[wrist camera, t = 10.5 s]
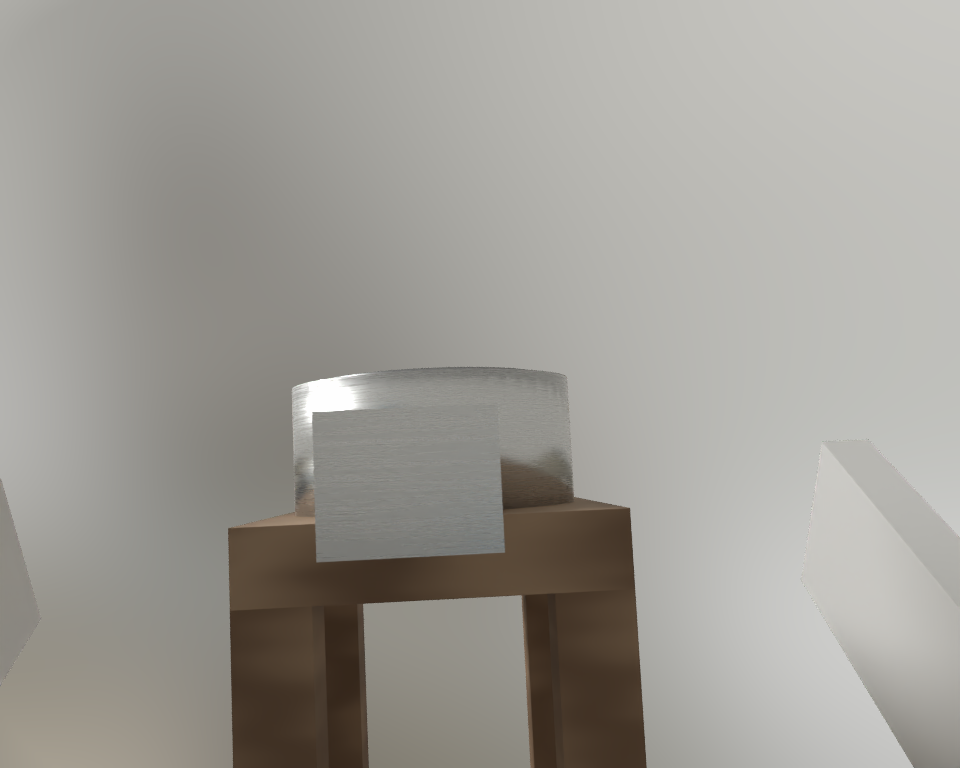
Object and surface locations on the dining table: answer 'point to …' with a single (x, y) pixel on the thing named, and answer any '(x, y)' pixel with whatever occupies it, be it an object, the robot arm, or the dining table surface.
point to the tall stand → (519, 571)
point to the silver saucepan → (427, 458)
